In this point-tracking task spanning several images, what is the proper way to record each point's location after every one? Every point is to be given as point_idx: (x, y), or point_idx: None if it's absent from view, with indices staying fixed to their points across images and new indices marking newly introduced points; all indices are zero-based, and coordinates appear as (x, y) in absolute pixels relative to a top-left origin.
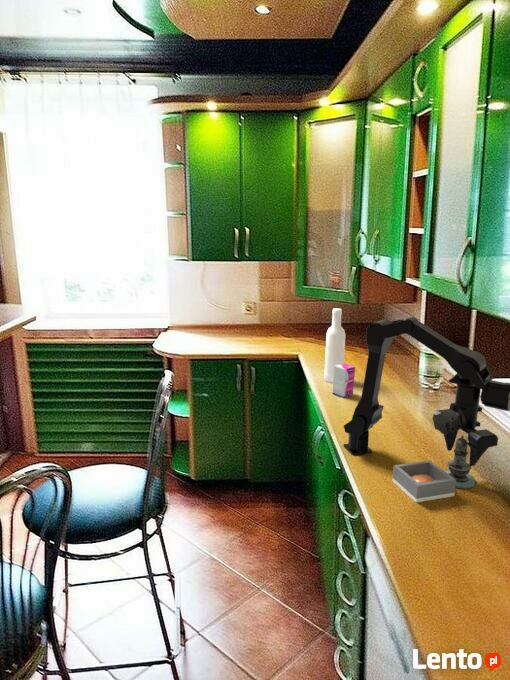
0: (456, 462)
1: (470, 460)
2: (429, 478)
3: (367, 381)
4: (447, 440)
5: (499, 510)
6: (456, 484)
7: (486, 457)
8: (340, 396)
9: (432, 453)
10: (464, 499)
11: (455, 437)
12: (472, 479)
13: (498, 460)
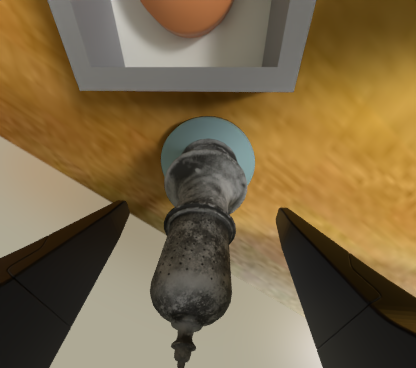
0: (193, 179)
1: (100, 213)
2: (189, 9)
3: None
4: (311, 246)
5: (59, 163)
6: (172, 136)
7: (271, 271)
8: None
9: (365, 197)
10: (106, 111)
11: (299, 294)
12: None
13: (251, 277)
